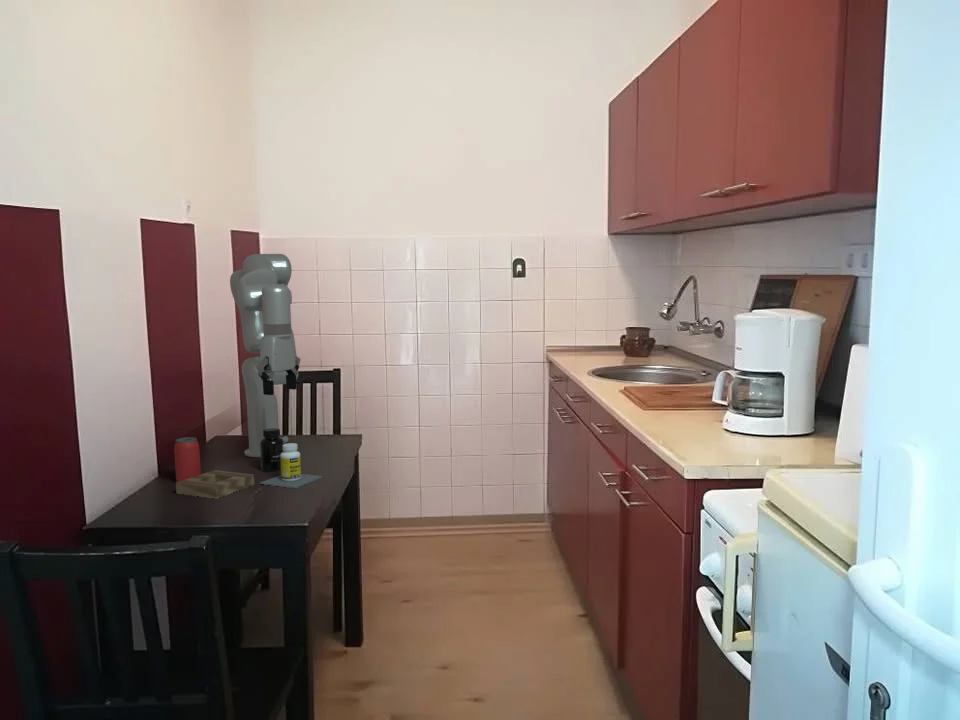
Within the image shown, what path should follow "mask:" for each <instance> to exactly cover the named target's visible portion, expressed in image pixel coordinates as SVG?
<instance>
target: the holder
mask: <svg viewBox="0 0 960 720" xmlns="http://www.w3.org/2000/svg"><path fill="white" fill-rule="evenodd" d="M254 476H255V475H254V473H253V474H252V473H251V474H250V473H243V472H233V471H225V470H218V469H215V470H211V471H207V472H206V473H205V472H204V473H201V475H198V476H195V477H192V478H189V479H186V480H183V481H180V482H177V481H176V482H175V489H176V490H175V491H176V493H175V494H177V495H182V494H184V495H185V496H190V495H191V497H197V496H199V497H200V498H205V497H206V499H212V498H214V499H215V500H218V499H221V498H223V496H224V497H226V496H229V495H231V493H232V494H234V493H233V492H235V493H237V492H240V491H243V490H245V489H248V488H250V486H251V487H253V485H254V486H255V477H254ZM242 489H243V490H242ZM239 490H240V491H239ZM236 491H237V492H236ZM228 494H229V495H228ZM220 497H221V498H220Z"/></svg>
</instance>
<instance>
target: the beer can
mask: <svg viewBox="0 0 960 720" xmlns="http://www.w3.org/2000/svg"><path fill="white" fill-rule="evenodd" d="M173 447H174V448H173V452H174V467H175V481H176V482H180V481H183V480H186V479H189V478H192V477H195V476H198V475H201V474H202V471H201V469H202V468H201V452H200V444H199V442H198V440H197V437H194V436H193V437H192V436H191V437H189V436H188V437H187V436H186V437H180V438H177V439H175V443H174V446H173Z"/></svg>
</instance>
